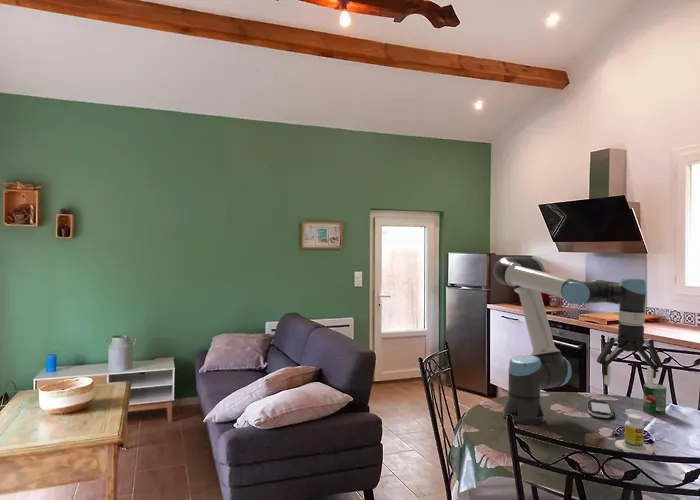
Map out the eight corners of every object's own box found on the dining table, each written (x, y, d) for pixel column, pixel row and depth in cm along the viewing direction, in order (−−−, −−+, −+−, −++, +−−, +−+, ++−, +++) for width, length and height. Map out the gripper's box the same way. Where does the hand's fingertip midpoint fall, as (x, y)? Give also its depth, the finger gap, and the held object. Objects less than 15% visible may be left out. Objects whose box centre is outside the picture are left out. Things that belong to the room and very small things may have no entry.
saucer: (623, 454, 159) (623, 451, 159) (609, 440, 170) (609, 438, 170) (660, 456, 158) (660, 453, 158) (643, 442, 169) (643, 440, 169)
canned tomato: (638, 411, 201) (639, 384, 201) (649, 408, 205) (650, 382, 205) (659, 417, 194) (660, 389, 194) (669, 414, 198) (670, 387, 198)
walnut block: (593, 450, 162) (593, 438, 162) (584, 445, 165) (585, 434, 165) (603, 449, 163) (604, 437, 163) (594, 444, 167) (595, 433, 166)
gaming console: (586, 403, 211) (586, 397, 211) (609, 406, 207) (609, 400, 207) (588, 418, 193) (588, 411, 193) (614, 421, 190) (614, 415, 190)
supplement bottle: (636, 450, 160) (637, 420, 160) (620, 443, 165) (621, 414, 165) (646, 447, 163) (647, 417, 162) (630, 441, 167) (631, 412, 167)
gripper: (596, 323, 164) (593, 386, 164) (676, 327, 161) (673, 392, 161) (588, 319, 171) (585, 380, 172) (665, 323, 168) (661, 385, 169)
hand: (628, 386), depth 167 cm, fingers open, 13 cm apart
